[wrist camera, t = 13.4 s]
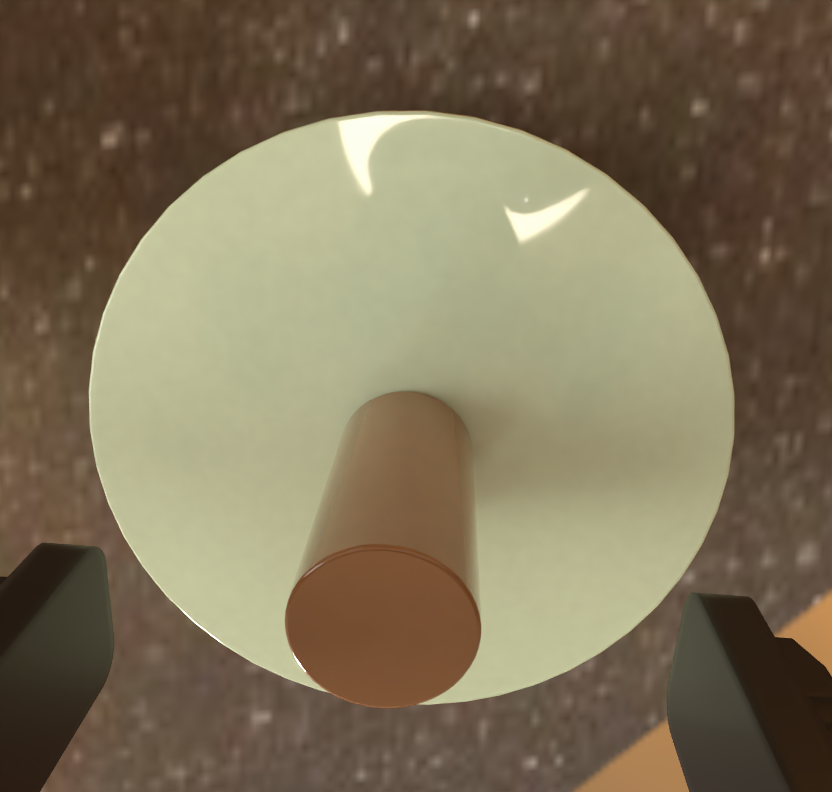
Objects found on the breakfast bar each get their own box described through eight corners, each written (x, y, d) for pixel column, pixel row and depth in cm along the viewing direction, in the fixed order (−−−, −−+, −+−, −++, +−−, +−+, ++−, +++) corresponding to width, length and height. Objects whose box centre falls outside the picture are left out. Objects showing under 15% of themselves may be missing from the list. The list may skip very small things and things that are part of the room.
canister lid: (778, 130, 14) (1034, 164, 8) (660, 689, 19) (762, 989, 12) (83, 87, 14) (-199, 87, 8) (135, 648, 19) (-22, 921, 13)
